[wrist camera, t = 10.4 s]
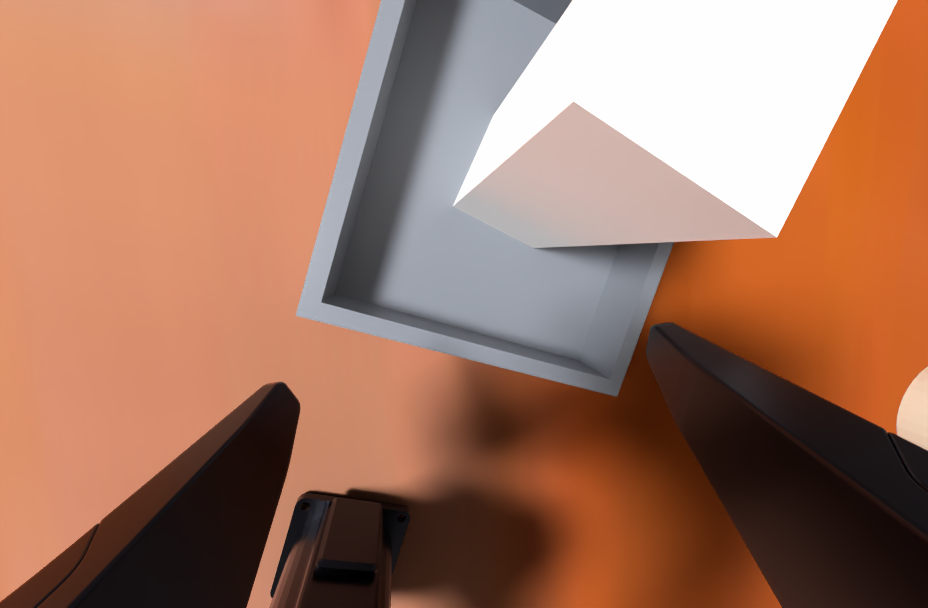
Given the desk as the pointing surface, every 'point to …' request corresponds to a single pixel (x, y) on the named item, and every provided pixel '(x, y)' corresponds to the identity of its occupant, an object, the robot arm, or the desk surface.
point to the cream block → (669, 120)
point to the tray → (454, 232)
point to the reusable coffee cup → (915, 412)
